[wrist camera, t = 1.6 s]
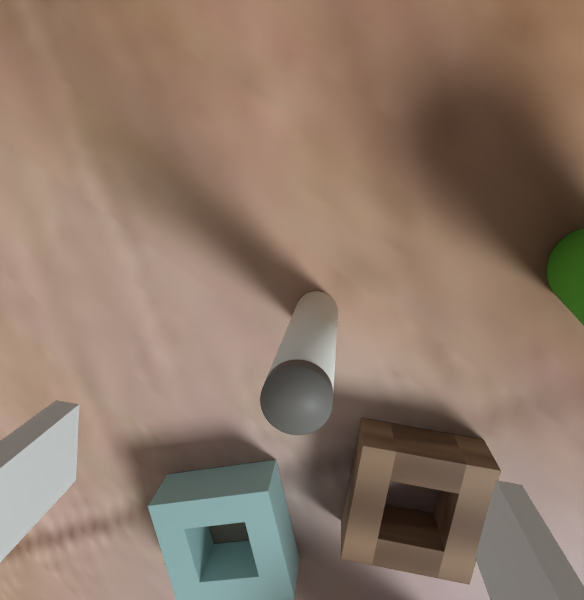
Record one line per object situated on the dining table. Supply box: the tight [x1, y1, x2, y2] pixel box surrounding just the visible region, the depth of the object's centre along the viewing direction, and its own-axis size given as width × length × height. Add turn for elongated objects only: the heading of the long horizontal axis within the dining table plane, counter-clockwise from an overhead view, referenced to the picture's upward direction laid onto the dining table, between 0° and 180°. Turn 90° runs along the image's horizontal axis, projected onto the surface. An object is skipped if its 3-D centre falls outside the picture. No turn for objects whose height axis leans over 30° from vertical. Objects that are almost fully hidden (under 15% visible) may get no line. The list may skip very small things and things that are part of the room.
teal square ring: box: [148, 460, 300, 600], centre depth 37 cm, size 9×9×4 cm
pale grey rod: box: [260, 291, 338, 435], centre depth 27 cm, size 3×3×15 cm
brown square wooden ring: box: [341, 418, 501, 585], centre depth 35 cm, size 9×9×4 cm
